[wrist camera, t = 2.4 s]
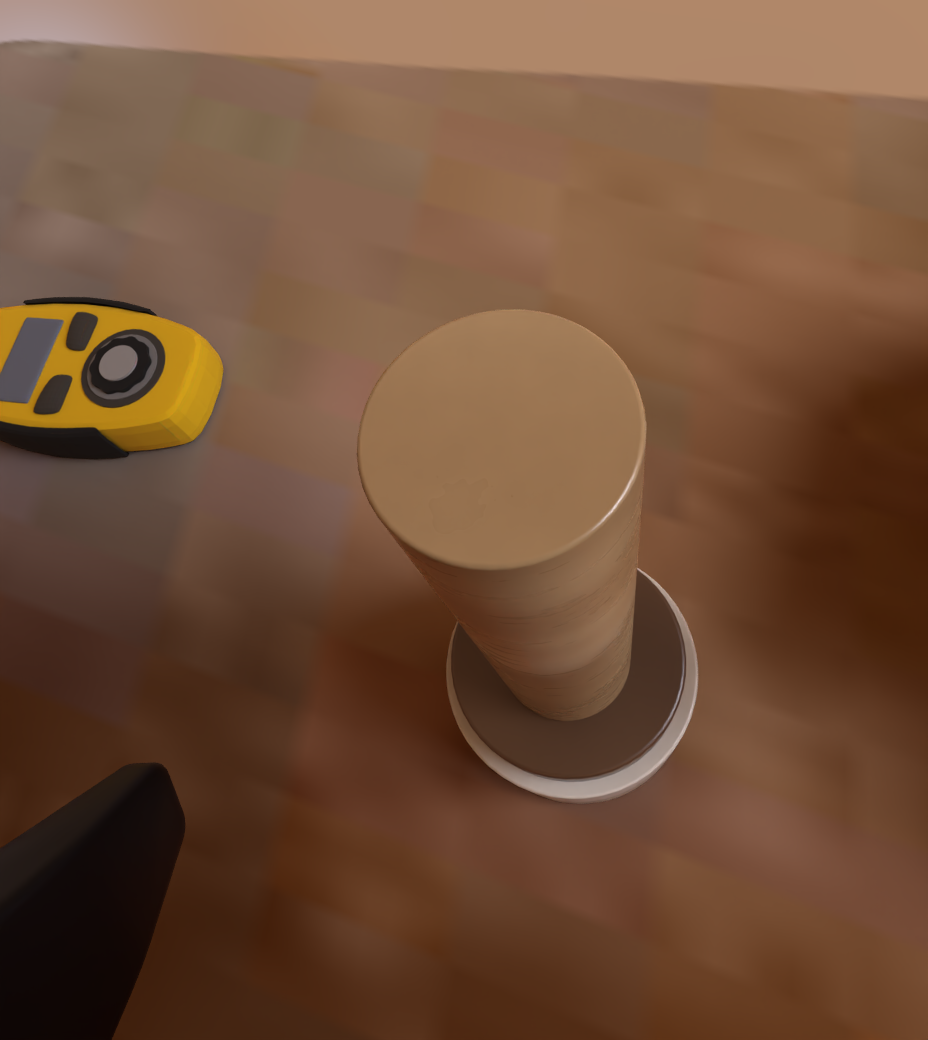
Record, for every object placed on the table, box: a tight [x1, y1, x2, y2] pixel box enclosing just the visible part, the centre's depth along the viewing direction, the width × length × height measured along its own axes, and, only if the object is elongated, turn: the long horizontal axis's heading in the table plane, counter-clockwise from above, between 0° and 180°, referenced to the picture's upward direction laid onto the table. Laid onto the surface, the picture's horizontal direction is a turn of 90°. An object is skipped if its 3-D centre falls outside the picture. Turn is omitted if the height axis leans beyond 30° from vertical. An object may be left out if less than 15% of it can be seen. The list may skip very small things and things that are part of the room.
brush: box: [357, 309, 698, 804], centre depth 12 cm, size 5×5×13 cm
